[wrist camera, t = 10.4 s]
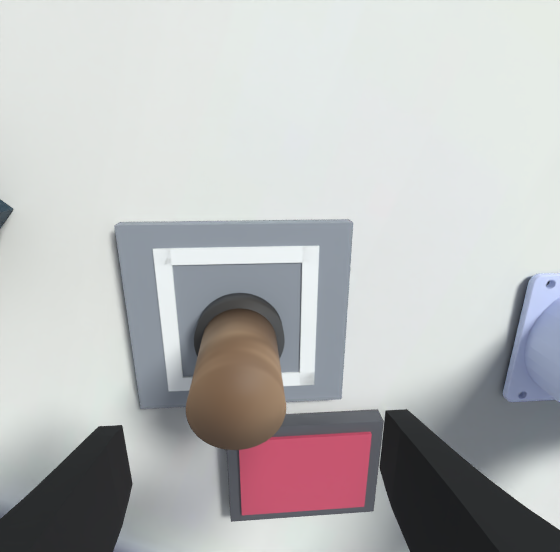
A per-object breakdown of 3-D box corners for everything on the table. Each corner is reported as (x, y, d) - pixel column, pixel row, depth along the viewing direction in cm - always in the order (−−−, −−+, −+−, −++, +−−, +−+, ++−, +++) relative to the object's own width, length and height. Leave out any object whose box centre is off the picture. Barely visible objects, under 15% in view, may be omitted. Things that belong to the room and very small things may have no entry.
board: (348, 219, 18) (353, 223, 18) (338, 390, 22) (341, 400, 21) (120, 222, 18) (113, 225, 17) (144, 399, 21) (140, 410, 20)
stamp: (293, 303, 19) (312, 370, 13) (270, 376, 20) (278, 466, 14) (206, 283, 18) (188, 345, 12) (188, 360, 19) (163, 448, 14)
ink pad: (377, 409, 22) (384, 423, 21) (368, 497, 25) (374, 514, 24) (226, 417, 22) (225, 432, 21) (231, 506, 24) (230, 524, 23)
